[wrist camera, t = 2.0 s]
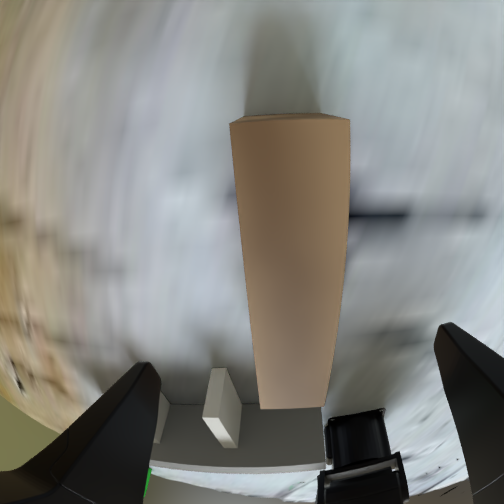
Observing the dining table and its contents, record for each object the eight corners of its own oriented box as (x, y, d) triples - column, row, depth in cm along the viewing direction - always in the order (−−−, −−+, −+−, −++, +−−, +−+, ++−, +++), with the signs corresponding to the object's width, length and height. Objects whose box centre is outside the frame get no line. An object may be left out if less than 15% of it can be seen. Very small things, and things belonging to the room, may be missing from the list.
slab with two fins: (317, 358, 22) (325, 434, 16) (320, 407, 26) (325, 468, 20) (79, 365, 26) (53, 415, 20) (114, 407, 29) (97, 453, 23)
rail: (320, 113, 14) (349, 119, 9) (315, 341, 22) (324, 406, 16) (244, 116, 14) (229, 123, 9) (263, 343, 22) (260, 409, 17)
